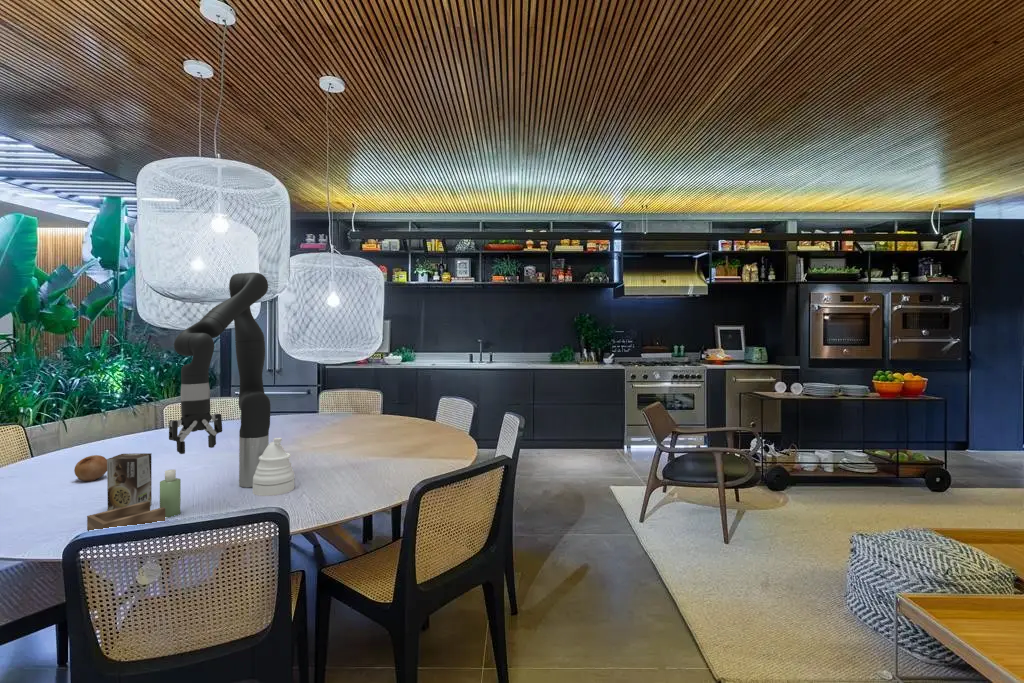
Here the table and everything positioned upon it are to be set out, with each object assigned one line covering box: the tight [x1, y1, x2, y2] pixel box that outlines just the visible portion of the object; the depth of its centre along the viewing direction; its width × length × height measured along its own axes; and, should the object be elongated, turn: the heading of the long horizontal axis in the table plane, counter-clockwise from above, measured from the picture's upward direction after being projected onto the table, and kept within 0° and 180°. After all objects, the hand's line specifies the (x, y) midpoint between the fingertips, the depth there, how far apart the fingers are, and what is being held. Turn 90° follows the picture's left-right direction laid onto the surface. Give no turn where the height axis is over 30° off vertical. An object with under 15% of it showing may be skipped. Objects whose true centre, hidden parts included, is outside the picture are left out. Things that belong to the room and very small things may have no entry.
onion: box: [73, 454, 108, 482], centre depth 174 cm, size 10×9×10 cm
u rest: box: [86, 501, 166, 531], centre depth 132 cm, size 14×11×4 cm
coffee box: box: [106, 452, 153, 511], centre depth 146 cm, size 9×6×16 cm
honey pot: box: [252, 437, 295, 497], centre depth 165 cm, size 13×13×18 cm
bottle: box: [159, 469, 182, 518], centre depth 141 cm, size 5×5×13 cm
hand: (197, 450), depth 147 cm, fingers open, 8 cm apart
